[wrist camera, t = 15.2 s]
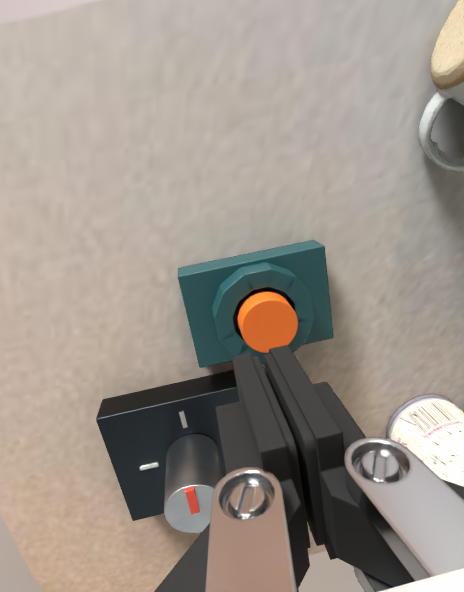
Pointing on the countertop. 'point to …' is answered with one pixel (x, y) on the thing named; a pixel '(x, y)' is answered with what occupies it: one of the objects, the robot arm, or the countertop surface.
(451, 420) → the aerosol can
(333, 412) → the robot arm
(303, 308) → the button block
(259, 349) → the button
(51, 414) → the countertop surface
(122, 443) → the control panel
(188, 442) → the dial
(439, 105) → the ceramic mug
